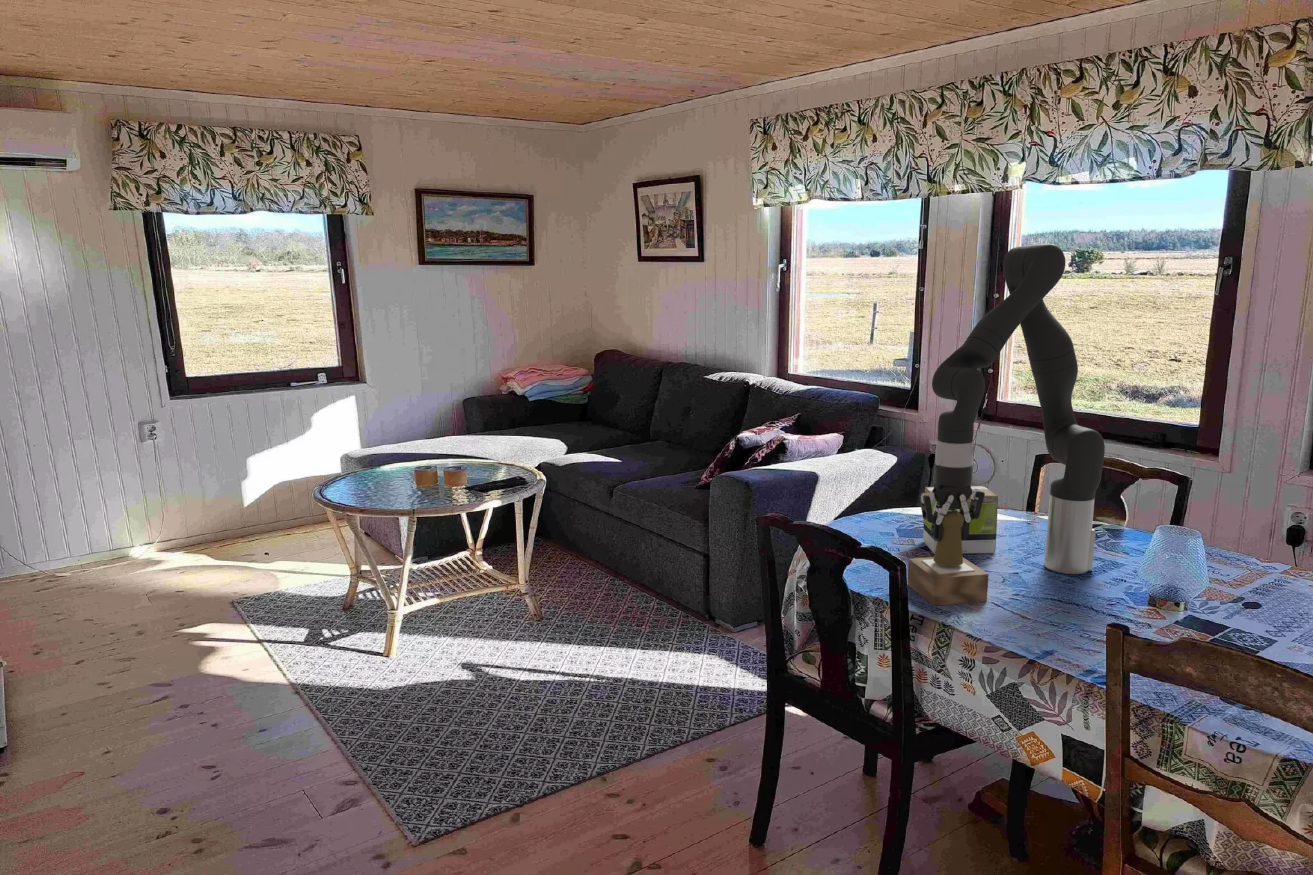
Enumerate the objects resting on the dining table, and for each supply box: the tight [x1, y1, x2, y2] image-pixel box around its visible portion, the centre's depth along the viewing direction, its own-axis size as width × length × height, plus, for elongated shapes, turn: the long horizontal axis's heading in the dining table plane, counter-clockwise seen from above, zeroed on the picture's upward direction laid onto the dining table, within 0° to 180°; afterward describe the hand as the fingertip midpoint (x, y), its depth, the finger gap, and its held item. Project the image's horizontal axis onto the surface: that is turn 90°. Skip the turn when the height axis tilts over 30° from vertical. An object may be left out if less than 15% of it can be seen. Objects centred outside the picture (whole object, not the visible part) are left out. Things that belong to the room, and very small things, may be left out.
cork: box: [933, 510, 964, 566], centre depth 186 cm, size 6×6×11 cm
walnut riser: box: [907, 556, 990, 607], centre depth 188 cm, size 12×12×6 cm
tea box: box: [922, 485, 999, 555], centre depth 215 cm, size 15×10×15 cm, turn 89°
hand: (949, 538), depth 186 cm, fingers open, 5 cm apart
